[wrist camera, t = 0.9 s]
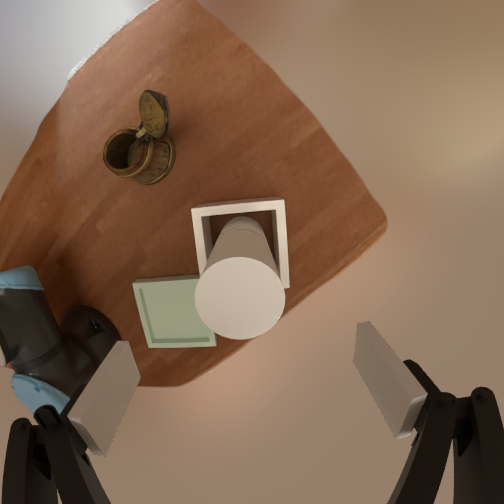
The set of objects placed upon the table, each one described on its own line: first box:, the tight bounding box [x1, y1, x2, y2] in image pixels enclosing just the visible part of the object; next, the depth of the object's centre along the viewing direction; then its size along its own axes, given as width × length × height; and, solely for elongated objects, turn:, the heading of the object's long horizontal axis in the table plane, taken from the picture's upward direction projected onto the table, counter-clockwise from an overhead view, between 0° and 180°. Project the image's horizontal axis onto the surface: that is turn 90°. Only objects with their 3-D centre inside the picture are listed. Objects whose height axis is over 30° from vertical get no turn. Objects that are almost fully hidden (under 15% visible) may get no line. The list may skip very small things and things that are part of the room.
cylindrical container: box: [194, 216, 285, 339], centre depth 34 cm, size 7×7×25 cm
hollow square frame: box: [191, 197, 290, 288], centre depth 42 cm, size 12×12×8 cm
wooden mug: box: [103, 90, 175, 185], centre depth 34 cm, size 9×14×18 cm, turn 121°
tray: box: [132, 274, 217, 348], centre depth 48 cm, size 13×13×2 cm
